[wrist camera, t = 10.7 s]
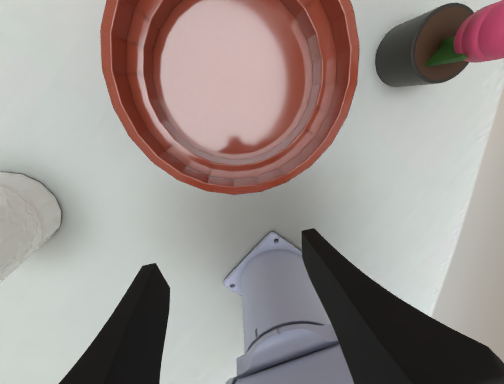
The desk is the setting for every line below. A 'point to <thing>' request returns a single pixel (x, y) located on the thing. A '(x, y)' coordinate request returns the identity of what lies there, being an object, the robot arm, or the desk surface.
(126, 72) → the bowl
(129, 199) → the desk surface
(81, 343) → the desk surface
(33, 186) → the white cup
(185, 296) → the desk surface
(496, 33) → the tulip
